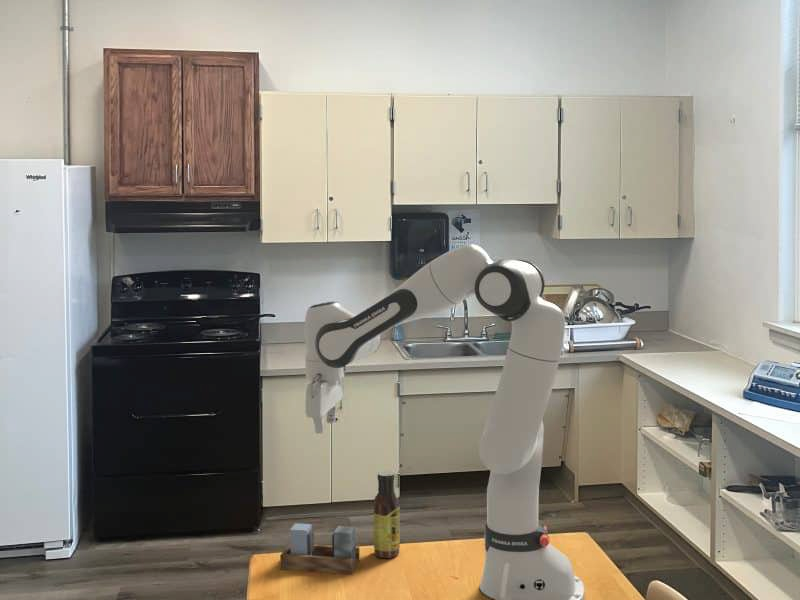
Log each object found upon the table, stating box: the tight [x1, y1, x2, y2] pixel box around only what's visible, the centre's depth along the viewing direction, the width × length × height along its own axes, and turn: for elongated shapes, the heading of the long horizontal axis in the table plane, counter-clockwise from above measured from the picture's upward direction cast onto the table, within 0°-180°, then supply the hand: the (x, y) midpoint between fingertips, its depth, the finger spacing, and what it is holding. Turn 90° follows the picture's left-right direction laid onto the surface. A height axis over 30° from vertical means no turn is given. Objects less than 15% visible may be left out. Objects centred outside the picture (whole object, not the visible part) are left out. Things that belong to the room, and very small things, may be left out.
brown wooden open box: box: [279, 525, 361, 575], centre depth 204 cm, size 17×8×9 cm, turn 79°
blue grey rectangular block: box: [289, 523, 315, 555], centre depth 205 cm, size 5×4×8 cm
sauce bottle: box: [372, 470, 401, 559], centre depth 209 cm, size 6×6×20 cm
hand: (325, 427), depth 208 cm, fingers open, 8 cm apart
